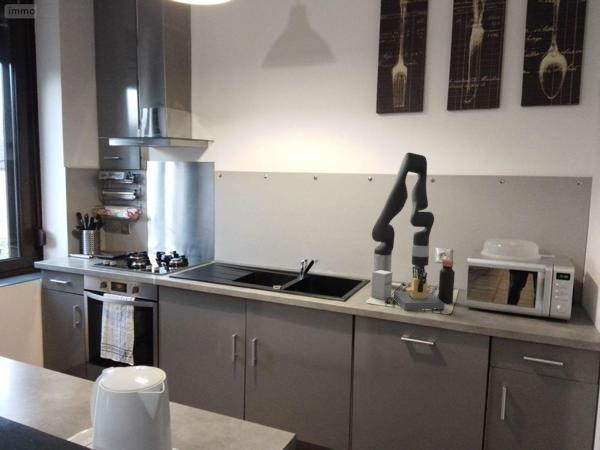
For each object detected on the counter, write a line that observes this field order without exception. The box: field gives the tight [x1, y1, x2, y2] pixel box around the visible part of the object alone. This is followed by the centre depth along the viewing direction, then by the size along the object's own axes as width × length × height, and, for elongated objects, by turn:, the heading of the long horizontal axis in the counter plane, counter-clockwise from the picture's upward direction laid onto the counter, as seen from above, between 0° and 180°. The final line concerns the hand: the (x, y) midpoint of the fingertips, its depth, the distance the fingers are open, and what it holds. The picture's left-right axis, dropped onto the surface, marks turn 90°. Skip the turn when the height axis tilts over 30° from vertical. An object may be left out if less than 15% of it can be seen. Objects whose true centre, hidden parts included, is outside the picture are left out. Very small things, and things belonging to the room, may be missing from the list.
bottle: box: [437, 259, 456, 305], centre depth 224 cm, size 7×7×20 cm
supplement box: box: [370, 270, 393, 300], centre depth 231 cm, size 7×7×13 cm
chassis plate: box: [393, 291, 445, 311], centre depth 219 cm, size 18×18×4 cm
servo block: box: [405, 277, 433, 299], centre depth 219 cm, size 4×11×10 cm, turn 95°
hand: (418, 290), depth 219 cm, fingers closed on servo block, 4 cm apart
